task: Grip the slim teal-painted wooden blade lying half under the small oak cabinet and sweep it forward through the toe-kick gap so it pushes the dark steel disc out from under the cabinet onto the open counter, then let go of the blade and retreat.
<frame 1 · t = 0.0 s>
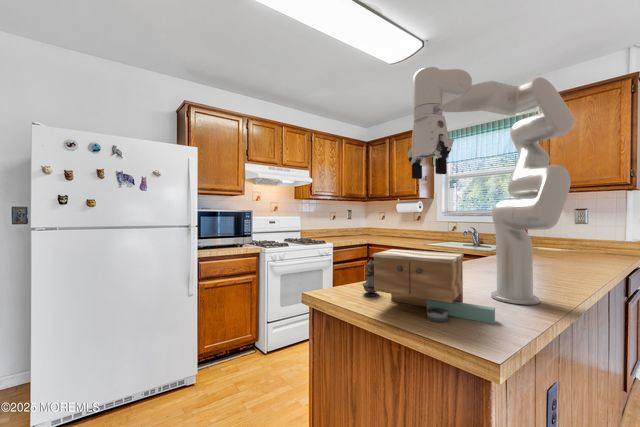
hand: (428, 176, 81), 37 cm above the worktop, tool pointing down, fingers open, 9 cm apart
sword: (442, 303, 90), on the worktop, touching cabinet
grey statuette: (371, 295, 98), on the worktop
teal blade: (459, 316, 77), on the worktop
steel token: (437, 320, 74), on the worktop
cabinet: (418, 310, 81), on the worktop
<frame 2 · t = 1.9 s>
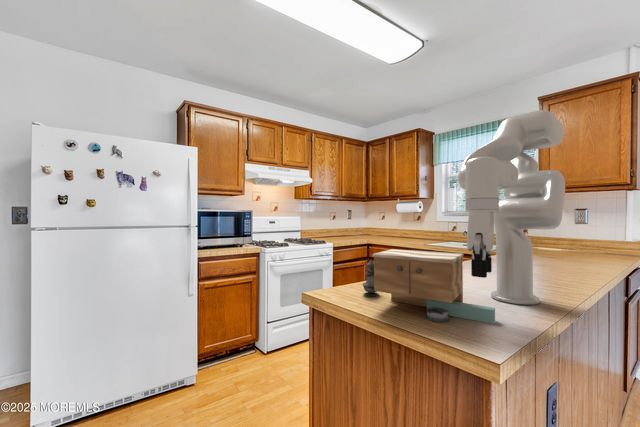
hand: (481, 274, 74), 11 cm above the worktop, tool pointing down, fingers open, 9 cm apart
nothing on the worktop moved.
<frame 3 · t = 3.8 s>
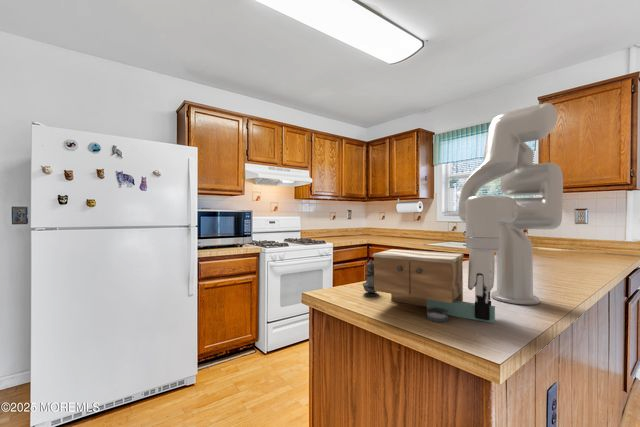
hand: (483, 316, 74), 1 cm above the worktop, tool pointing down, fingers closed on teal blade, 2 cm apart
sword: (441, 303, 90), on the worktop
teal blade: (459, 315, 77), on the worktop, touching gripper
everything else where it was.
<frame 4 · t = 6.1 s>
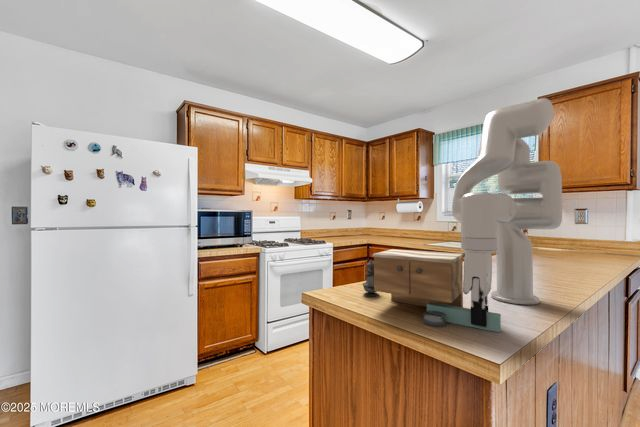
hand: (479, 322, 69), 1 cm above the worktop, tool pointing down, fingers closed on teal blade, 2 cm apart
teal blade: (461, 323, 71), on the worktop, touching gripper
steel token: (434, 323, 71), on the worktop
everything else where it was.
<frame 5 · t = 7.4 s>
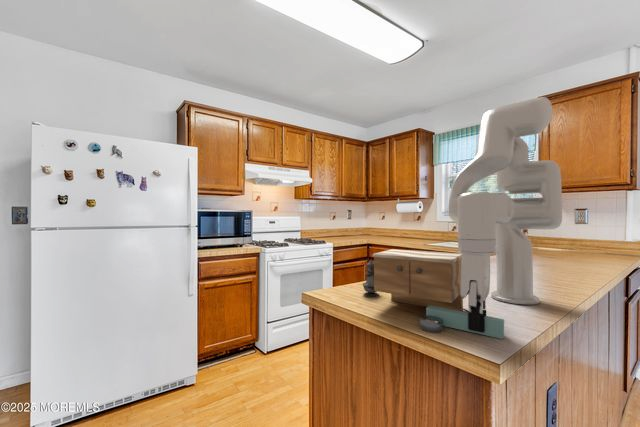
hand: (477, 327, 66), 1 cm above the worktop, tool pointing down, fingers closed on teal blade, 2 cm apart
teal blade: (462, 328, 68), on the worktop, touching gripper
steel token: (431, 329, 68), on the worktop
everything else where it was.
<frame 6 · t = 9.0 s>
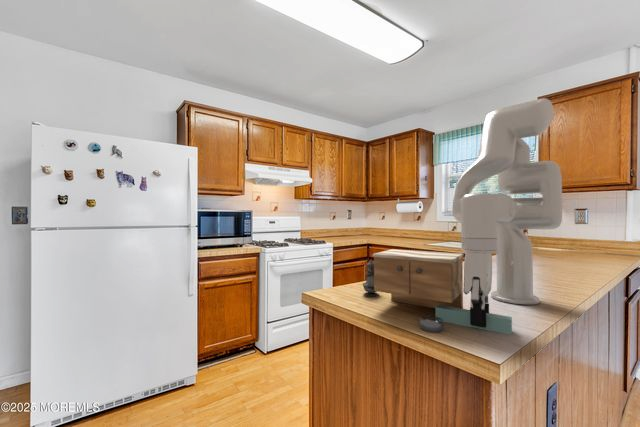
hand: (479, 321, 69), 1 cm above the worktop, tool pointing down, fingers open, 4 cm apart
teal blade: (471, 326, 70), on the worktop
everything else where it was.
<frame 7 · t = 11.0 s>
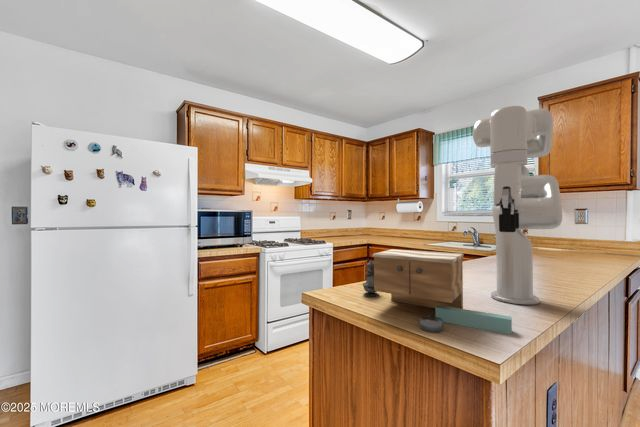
hand: (509, 230, 72), 23 cm above the worktop, tool pointing down, fingers open, 9 cm apart
nothing on the worktop moved.
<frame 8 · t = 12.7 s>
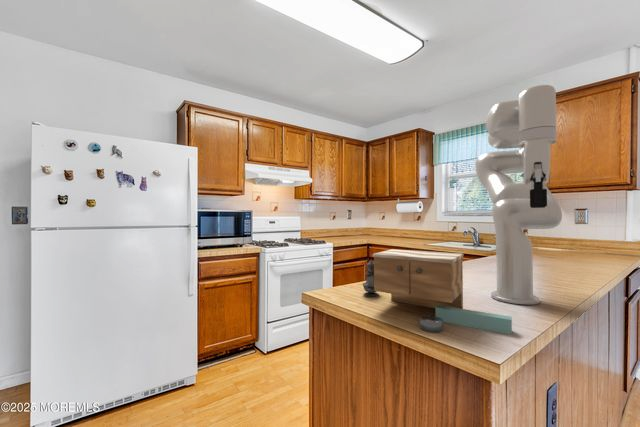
hand: (538, 207, 72), 28 cm above the worktop, tool pointing down, fingers open, 9 cm apart
sword: (439, 303, 90), on the worktop, touching cabinet
everything else where it was.
at the end: steel token inside the target area (2.1 cm from its centre), on the worktop; steel token on the worktop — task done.
